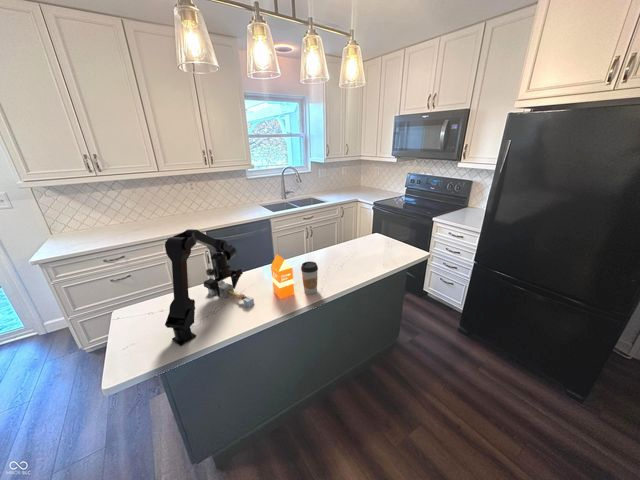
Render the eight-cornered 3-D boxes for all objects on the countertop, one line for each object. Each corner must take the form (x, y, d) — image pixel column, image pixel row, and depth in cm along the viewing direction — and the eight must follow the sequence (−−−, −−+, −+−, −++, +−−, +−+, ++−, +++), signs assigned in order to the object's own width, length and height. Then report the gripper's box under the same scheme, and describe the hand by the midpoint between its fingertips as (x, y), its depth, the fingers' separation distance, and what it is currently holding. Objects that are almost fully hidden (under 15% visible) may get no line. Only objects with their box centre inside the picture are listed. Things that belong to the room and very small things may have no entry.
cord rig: (257, 301, 123) (256, 292, 122) (244, 310, 117) (243, 301, 116) (222, 286, 138) (220, 278, 137) (208, 293, 132) (207, 284, 130)
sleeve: (234, 292, 130) (232, 285, 129) (225, 297, 126) (224, 289, 125) (227, 290, 133) (226, 282, 132) (219, 294, 129) (218, 287, 128)
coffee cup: (304, 297, 126) (302, 269, 121) (300, 288, 134) (299, 262, 129) (320, 294, 128) (319, 266, 123) (316, 285, 136) (315, 260, 131)
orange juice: (280, 299, 125) (276, 261, 118) (273, 291, 132) (269, 255, 125) (294, 293, 129) (292, 257, 122) (286, 286, 136) (283, 251, 129)
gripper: (227, 254, 136) (231, 280, 141) (193, 268, 121) (200, 296, 127) (241, 258, 130) (245, 286, 135) (207, 273, 115) (214, 303, 121)
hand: (226, 292), depth 130 cm, fingers open, 9 cm apart
